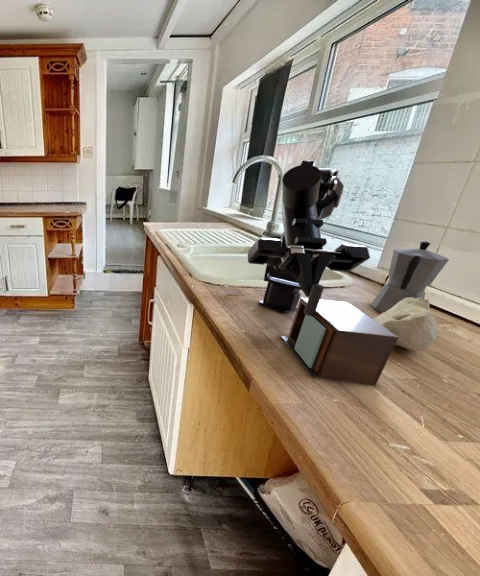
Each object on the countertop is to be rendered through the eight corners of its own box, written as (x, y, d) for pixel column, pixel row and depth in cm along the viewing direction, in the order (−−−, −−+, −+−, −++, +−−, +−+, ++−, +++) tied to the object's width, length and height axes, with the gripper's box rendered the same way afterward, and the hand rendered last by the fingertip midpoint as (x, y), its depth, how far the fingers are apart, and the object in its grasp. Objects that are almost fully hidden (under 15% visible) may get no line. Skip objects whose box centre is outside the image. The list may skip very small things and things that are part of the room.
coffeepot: (376, 299, 85) (403, 234, 78) (423, 311, 78) (457, 242, 71) (362, 313, 76) (392, 241, 69) (414, 328, 69) (453, 251, 62)
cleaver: (290, 347, 58) (311, 283, 53) (299, 348, 58) (321, 284, 53) (305, 367, 52) (330, 297, 47) (315, 368, 52) (342, 298, 47)
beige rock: (397, 373, 56) (494, 334, 52) (372, 338, 57) (465, 297, 53) (356, 353, 71) (429, 321, 66) (337, 326, 72) (407, 292, 67)
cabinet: (280, 336, 63) (293, 296, 59) (331, 342, 61) (347, 302, 58) (311, 376, 51) (329, 329, 47) (375, 385, 49) (399, 337, 46)
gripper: (326, 248, 67) (338, 316, 61) (237, 241, 69) (239, 306, 63) (363, 217, 56) (381, 295, 50) (256, 210, 59) (262, 284, 53)
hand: (310, 296), depth 54 cm, fingers closed
